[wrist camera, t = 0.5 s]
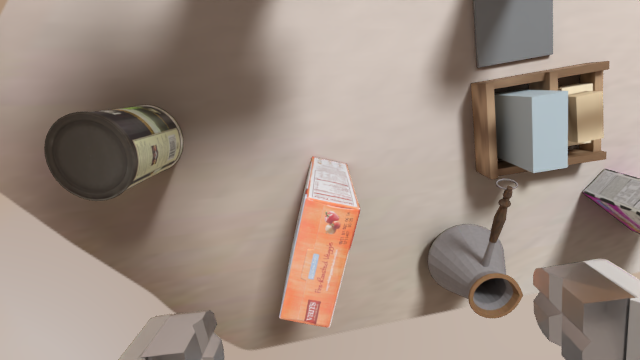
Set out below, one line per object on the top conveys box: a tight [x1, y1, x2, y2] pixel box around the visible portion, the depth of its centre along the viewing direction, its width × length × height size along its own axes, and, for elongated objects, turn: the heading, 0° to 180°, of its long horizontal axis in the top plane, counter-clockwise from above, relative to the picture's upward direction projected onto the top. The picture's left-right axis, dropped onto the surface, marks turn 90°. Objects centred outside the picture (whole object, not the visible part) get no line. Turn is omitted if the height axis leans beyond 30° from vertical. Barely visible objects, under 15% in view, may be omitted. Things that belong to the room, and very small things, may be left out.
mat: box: [473, 0, 553, 68], centre depth 48 cm, size 9×10×1 cm
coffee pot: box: [428, 179, 523, 318], centre depth 49 cm, size 21×12×15 cm, turn 4°
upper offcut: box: [568, 91, 604, 143], centre depth 46 cm, size 6×3×3 cm, turn 13°
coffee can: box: [45, 105, 183, 201], centre depth 47 cm, size 10×10×14 cm
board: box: [494, 90, 568, 173], centre depth 46 cm, size 9×4×11 cm, turn 10°
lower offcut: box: [558, 83, 593, 146], centre depth 50 cm, size 8×4×4 cm, turn 9°
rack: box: [471, 61, 609, 179], centre depth 49 cm, size 13×16×5 cm
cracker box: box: [279, 157, 360, 328], centre depth 45 cm, size 14×6×21 cm, turn 168°
